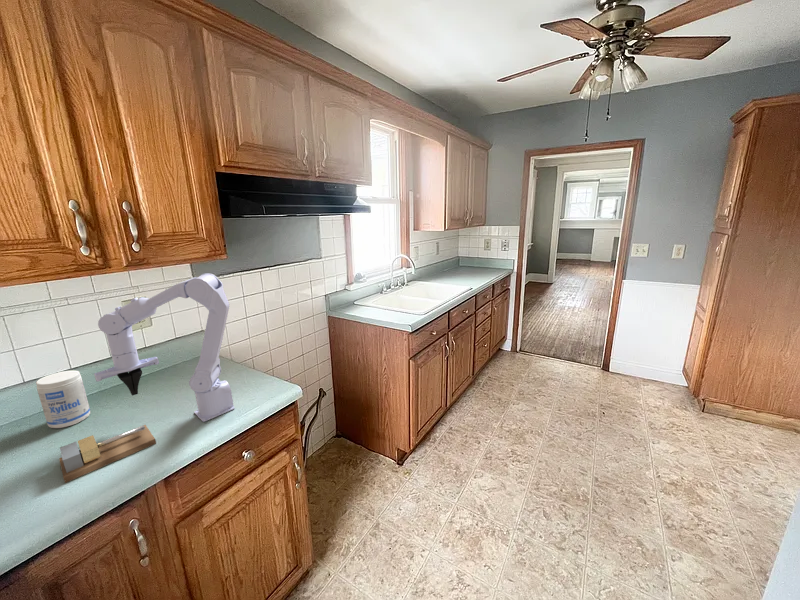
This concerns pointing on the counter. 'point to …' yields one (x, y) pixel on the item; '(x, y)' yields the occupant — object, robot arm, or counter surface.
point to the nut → (89, 449)
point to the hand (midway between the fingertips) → (134, 393)
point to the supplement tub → (63, 398)
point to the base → (104, 452)
